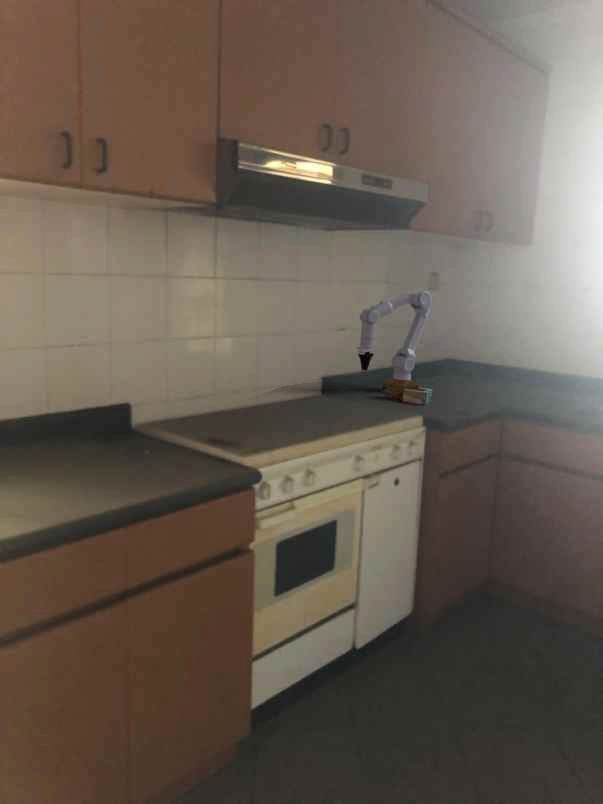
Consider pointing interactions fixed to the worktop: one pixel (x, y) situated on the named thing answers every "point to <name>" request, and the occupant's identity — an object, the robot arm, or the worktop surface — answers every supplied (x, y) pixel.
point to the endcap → (417, 396)
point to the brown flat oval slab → (398, 387)
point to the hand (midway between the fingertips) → (364, 370)
